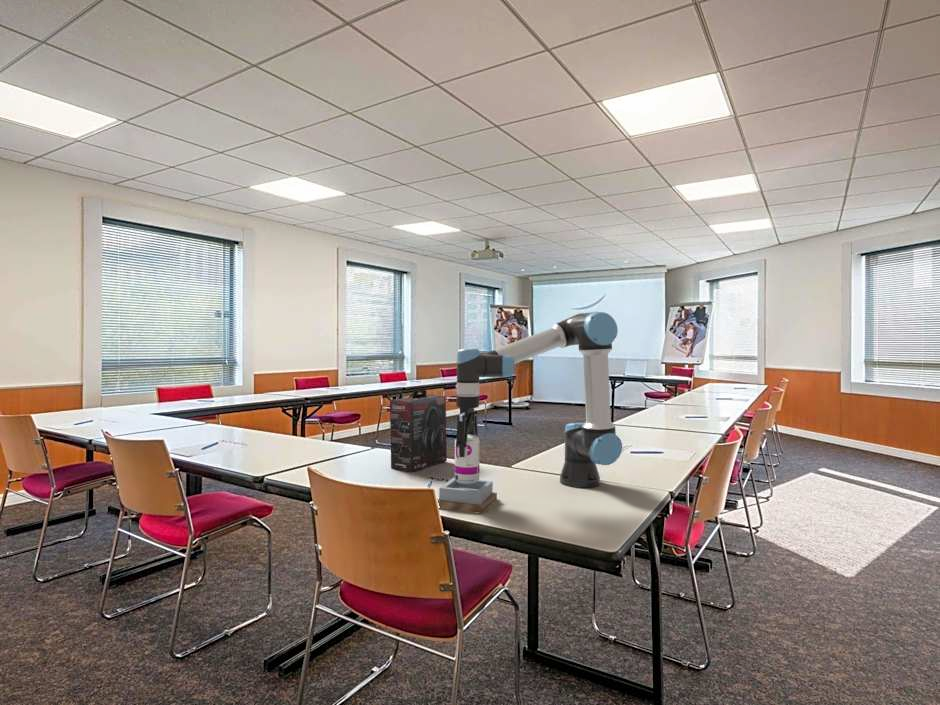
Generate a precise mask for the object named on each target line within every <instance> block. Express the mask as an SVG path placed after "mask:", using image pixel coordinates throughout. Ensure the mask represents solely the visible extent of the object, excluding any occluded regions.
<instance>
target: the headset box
mask: <svg viewBox="0 0 940 705" xmlns="http://www.w3.org/2000/svg"><path fill="white" fill-rule="evenodd" d="M446 398H447V396H446V395H437V394H427V389H426V388H425V389H418V390H413V393H412V396H411V397H402V398H395V399H390V400H389V418H390V420H389V422H390V424H389V426H390V429H389V430H390V469H392V470H398V471H405V472H410V473H412V472H416V471H419V470H421V469H425V468H427V467H428V468H429V467H432V466H436V465H438V464H441V463H445V462H447V461H448V460H447V452H448V451H447V450H448V449H447V405H446V404H447V399H446Z"/></svg>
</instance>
